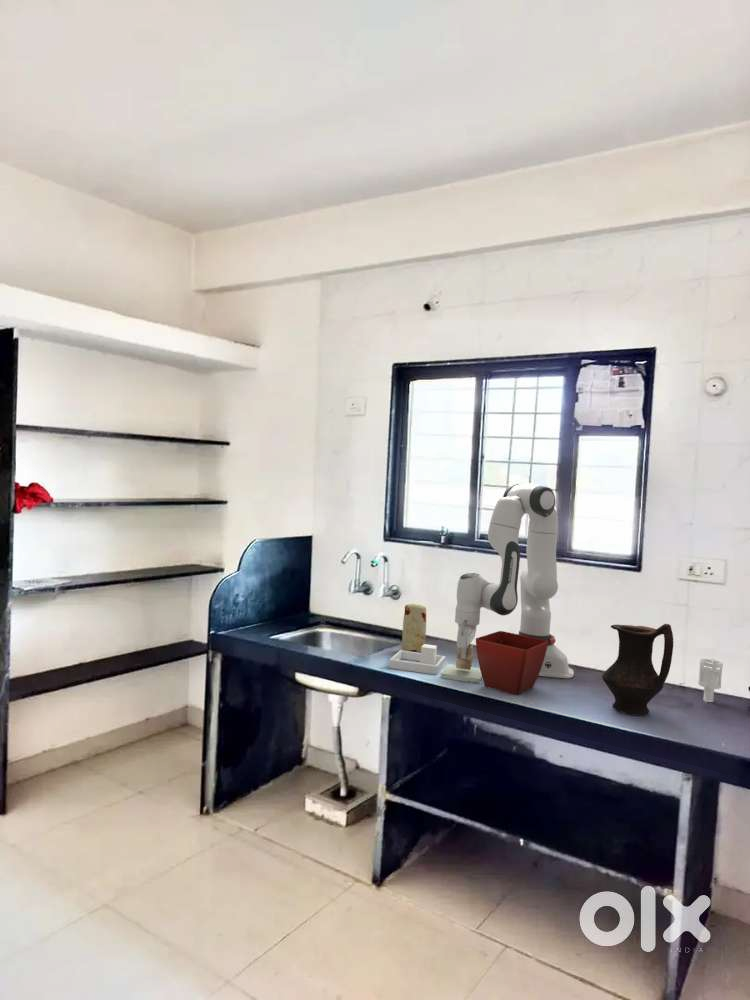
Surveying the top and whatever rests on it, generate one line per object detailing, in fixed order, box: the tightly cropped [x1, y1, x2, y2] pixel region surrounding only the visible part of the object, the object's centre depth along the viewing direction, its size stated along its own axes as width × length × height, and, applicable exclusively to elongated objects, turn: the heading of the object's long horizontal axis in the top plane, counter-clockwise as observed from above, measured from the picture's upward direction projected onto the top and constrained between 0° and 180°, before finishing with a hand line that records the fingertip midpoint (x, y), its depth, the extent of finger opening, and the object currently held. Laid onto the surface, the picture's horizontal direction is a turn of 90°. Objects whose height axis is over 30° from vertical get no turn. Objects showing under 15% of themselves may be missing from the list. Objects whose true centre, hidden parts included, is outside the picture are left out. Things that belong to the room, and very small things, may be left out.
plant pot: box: [475, 630, 548, 696], centre depth 237 cm, size 19×19×17 cm
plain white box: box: [419, 643, 438, 665], centre depth 257 cm, size 5×5×8 cm
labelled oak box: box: [455, 643, 474, 670], centre depth 249 cm, size 5×5×8 cm
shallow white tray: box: [388, 649, 447, 676], centre depth 258 cm, size 18×16×3 cm
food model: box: [401, 603, 427, 653], centre depth 277 cm, size 10×7×20 cm
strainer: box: [697, 658, 724, 703], centre depth 236 cm, size 7×7×15 cm
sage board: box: [440, 663, 483, 684], centre depth 249 cm, size 14×14×2 cm
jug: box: [601, 623, 674, 716], centre depth 219 cm, size 21×18×30 cm
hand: (464, 656), depth 249 cm, fingers closed on labelled oak box, 5 cm apart
